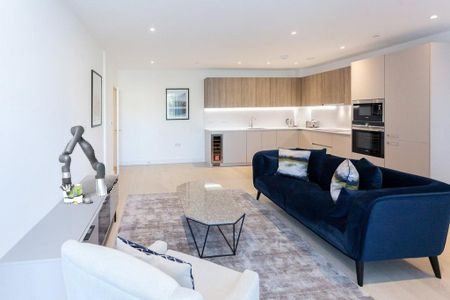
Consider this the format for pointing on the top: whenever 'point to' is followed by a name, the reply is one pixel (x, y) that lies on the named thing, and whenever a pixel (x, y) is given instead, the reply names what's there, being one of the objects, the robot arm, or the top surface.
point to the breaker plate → (79, 202)
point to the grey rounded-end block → (87, 200)
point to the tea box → (74, 193)
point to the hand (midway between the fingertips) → (68, 195)
